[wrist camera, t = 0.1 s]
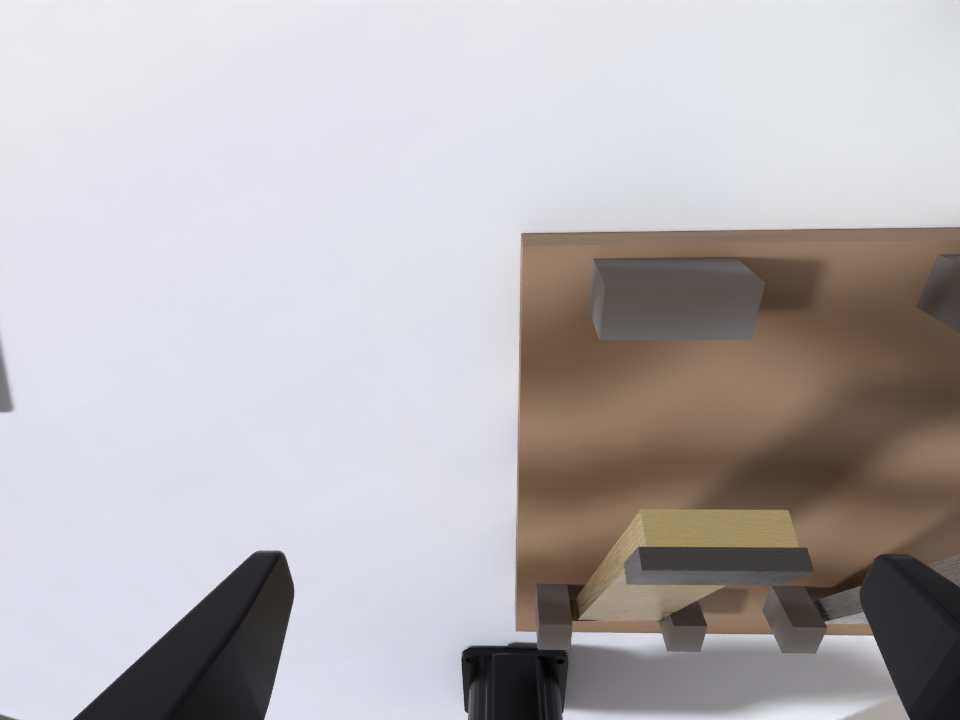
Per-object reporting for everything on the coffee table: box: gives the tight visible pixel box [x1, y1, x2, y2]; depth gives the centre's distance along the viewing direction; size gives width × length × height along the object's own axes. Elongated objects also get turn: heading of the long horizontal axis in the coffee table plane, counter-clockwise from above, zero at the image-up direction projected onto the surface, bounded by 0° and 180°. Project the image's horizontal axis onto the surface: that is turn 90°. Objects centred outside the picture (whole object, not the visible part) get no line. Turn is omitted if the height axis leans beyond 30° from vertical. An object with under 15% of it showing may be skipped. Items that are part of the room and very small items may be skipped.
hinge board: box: [515, 228, 960, 653], centre depth 24 cm, size 22×22×4 cm
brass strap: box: [569, 509, 814, 622], centre depth 21 cm, size 16×5×2 cm, turn 179°
